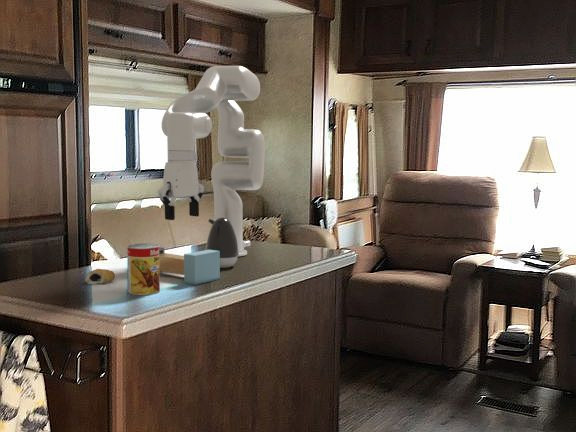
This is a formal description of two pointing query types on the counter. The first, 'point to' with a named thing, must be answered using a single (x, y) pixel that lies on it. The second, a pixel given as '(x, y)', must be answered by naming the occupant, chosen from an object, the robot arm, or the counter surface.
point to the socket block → (201, 267)
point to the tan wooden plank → (171, 263)
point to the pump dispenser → (223, 241)
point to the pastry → (100, 276)
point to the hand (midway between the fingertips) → (182, 217)
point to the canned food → (143, 269)
